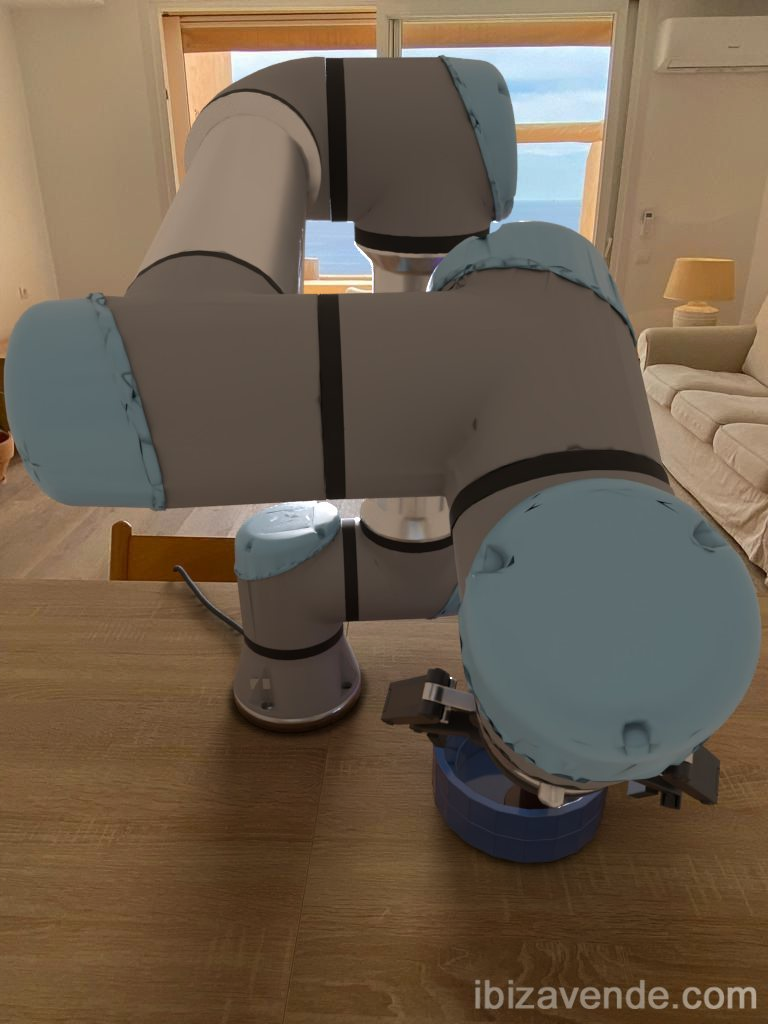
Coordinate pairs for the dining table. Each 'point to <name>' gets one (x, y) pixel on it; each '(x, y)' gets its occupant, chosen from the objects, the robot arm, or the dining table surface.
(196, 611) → the dining table surface
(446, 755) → the bowl
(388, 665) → the dining table surface
